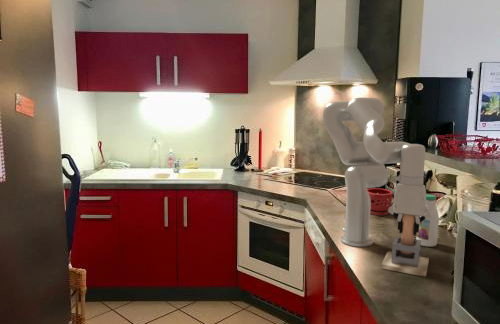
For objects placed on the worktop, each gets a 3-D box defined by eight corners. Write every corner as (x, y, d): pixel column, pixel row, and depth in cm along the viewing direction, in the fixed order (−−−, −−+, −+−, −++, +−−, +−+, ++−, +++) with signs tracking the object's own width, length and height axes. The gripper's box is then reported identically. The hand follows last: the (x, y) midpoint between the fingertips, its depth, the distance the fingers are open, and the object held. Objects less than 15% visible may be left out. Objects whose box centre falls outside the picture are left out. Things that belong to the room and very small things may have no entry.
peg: (397, 250, 140) (400, 205, 138) (407, 249, 142) (410, 204, 140) (405, 254, 136) (408, 208, 134) (416, 253, 138) (419, 207, 136)
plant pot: (359, 211, 210) (360, 189, 209) (378, 209, 216) (379, 187, 214) (376, 218, 199) (378, 194, 197) (396, 215, 204) (398, 192, 202)
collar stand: (381, 268, 137) (382, 244, 136) (387, 255, 149) (388, 233, 148) (425, 276, 131) (427, 251, 129) (428, 262, 143) (430, 239, 142)
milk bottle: (431, 240, 166) (434, 193, 163) (440, 247, 158) (444, 197, 155) (412, 240, 166) (416, 193, 163) (421, 247, 158) (424, 197, 155)
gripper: (383, 180, 136) (380, 232, 139) (438, 184, 129) (434, 240, 131) (387, 177, 143) (384, 226, 145) (438, 181, 135) (435, 233, 138)
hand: (408, 232), depth 138 cm, fingers closed on peg, 4 cm apart
